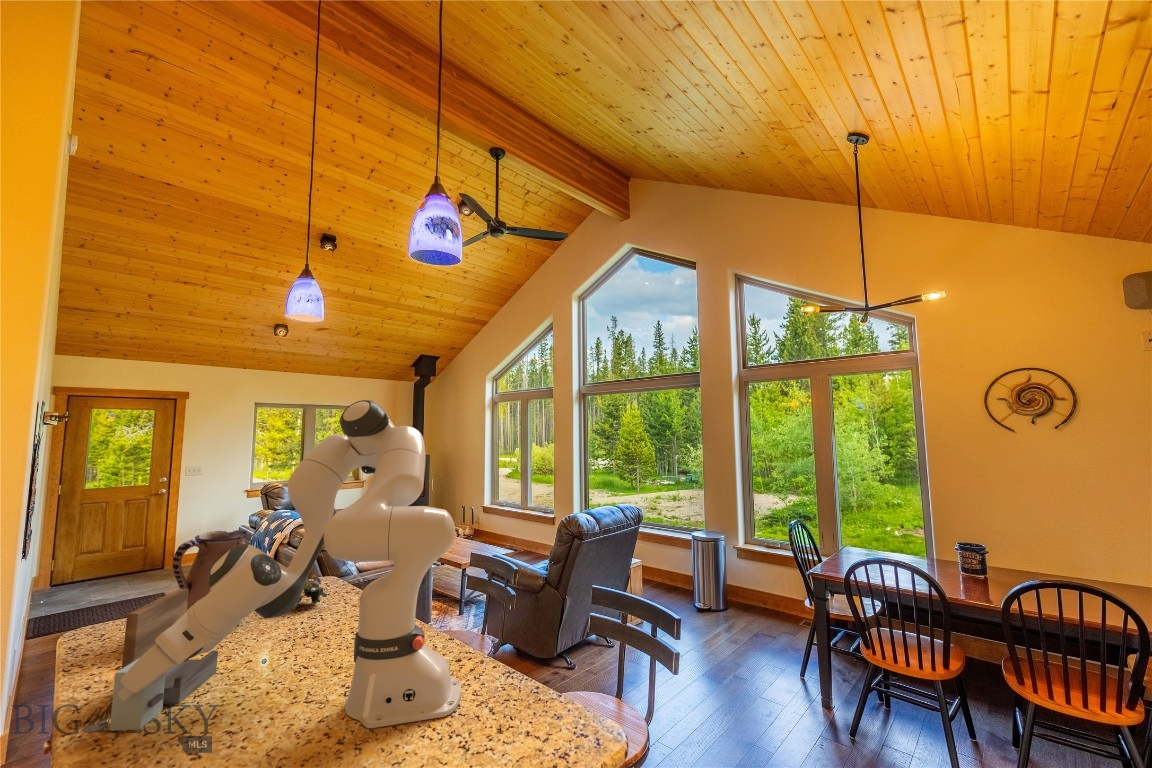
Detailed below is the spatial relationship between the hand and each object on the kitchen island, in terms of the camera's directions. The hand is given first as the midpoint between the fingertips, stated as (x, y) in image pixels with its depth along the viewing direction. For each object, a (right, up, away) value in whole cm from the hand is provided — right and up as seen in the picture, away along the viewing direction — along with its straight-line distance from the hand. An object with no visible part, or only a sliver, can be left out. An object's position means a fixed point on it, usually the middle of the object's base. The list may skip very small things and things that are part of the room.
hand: (142, 682), depth 96 cm
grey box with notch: (0, -6, -1) cm, 7 cm away
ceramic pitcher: (-18, -10, +43) cm, 48 cm away
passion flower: (-2, -12, +60) cm, 61 cm away
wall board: (-3, -7, +11) cm, 13 cm away
